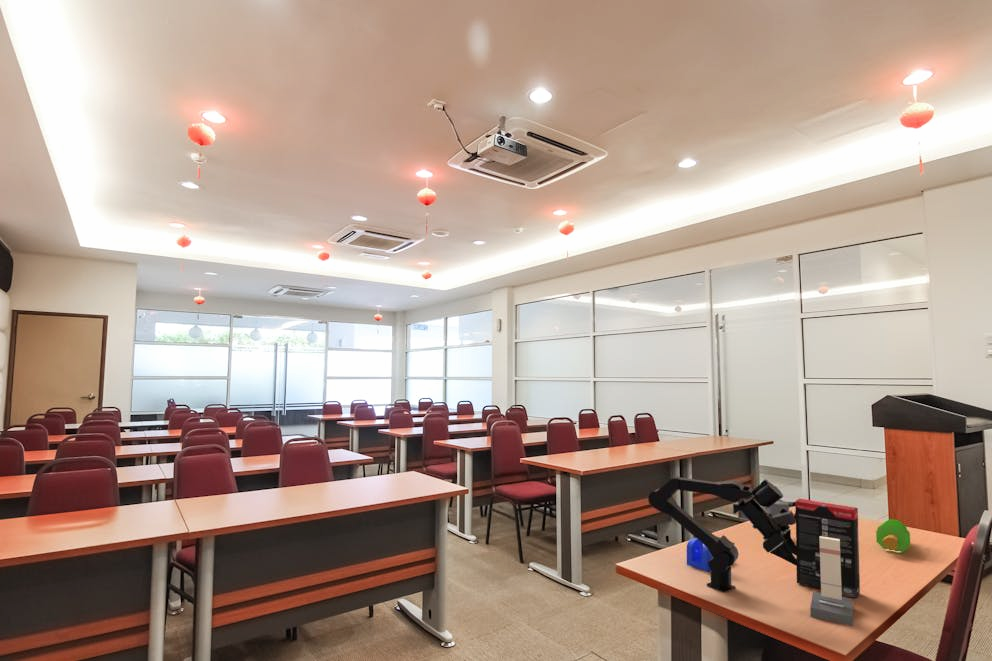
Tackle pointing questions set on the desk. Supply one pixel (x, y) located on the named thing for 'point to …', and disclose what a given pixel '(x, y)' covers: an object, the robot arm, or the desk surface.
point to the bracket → (698, 555)
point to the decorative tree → (893, 536)
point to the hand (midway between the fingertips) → (799, 560)
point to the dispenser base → (832, 609)
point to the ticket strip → (830, 567)
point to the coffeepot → (780, 507)
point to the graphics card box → (832, 524)
